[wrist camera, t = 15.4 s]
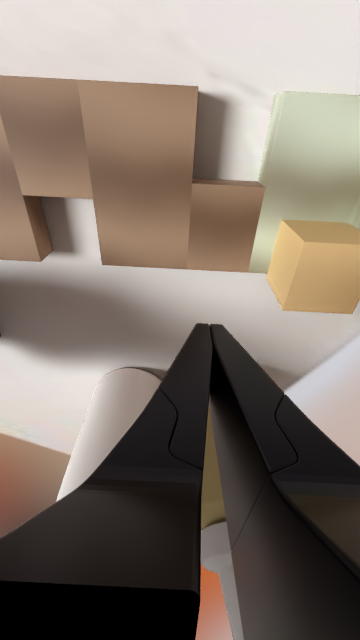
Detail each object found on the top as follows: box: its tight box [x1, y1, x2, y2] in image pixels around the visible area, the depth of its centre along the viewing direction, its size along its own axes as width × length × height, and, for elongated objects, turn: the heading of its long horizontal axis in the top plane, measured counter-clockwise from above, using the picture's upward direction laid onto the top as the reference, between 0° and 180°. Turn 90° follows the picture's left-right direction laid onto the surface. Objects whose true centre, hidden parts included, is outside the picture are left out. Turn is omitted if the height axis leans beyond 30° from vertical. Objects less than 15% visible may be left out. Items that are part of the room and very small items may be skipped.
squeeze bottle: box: [201, 407, 244, 640], centre depth 21 cm, size 8×8×18 cm
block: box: [266, 219, 360, 314], centre depth 16 cm, size 4×4×4 cm
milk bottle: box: [56, 368, 161, 502], centre depth 21 cm, size 8×8×20 cm
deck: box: [0, 75, 360, 274], centre depth 16 cm, size 10×27×3 cm, turn 87°
